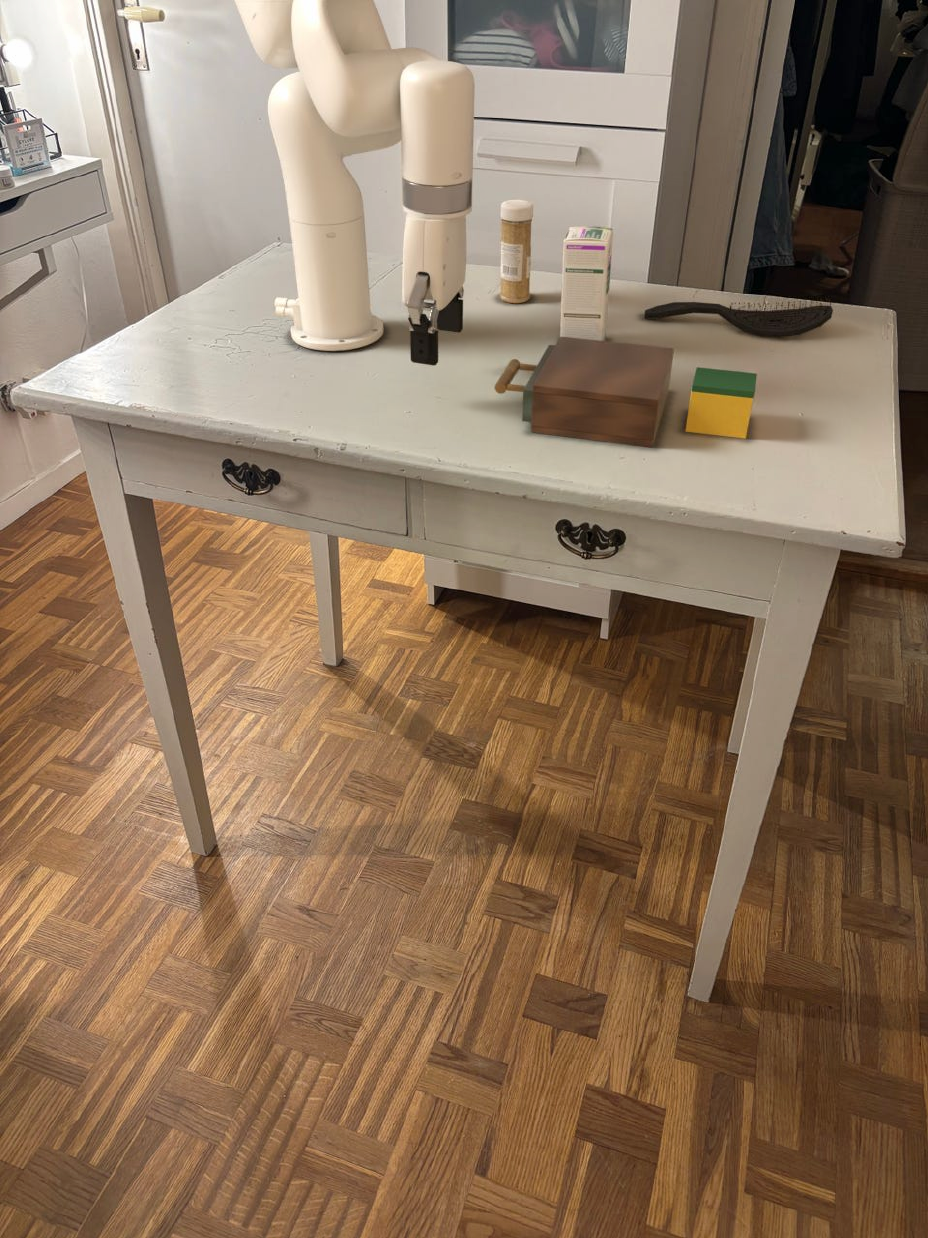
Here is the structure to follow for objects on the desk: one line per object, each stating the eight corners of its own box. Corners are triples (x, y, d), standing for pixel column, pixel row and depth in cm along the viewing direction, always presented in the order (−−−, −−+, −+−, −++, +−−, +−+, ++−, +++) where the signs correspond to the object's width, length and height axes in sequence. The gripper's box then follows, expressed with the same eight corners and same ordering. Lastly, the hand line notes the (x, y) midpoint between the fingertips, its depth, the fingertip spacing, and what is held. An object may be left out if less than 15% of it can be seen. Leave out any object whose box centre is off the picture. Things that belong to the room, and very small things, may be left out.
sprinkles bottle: (536, 298, 140) (540, 202, 131) (515, 306, 137) (517, 209, 129) (513, 291, 142) (516, 196, 134) (492, 298, 140) (493, 202, 131)
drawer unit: (530, 432, 106) (532, 385, 102) (557, 380, 117) (560, 336, 113) (652, 447, 103) (658, 399, 99) (668, 392, 114) (674, 347, 110)
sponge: (685, 431, 106) (692, 384, 102) (689, 412, 109) (696, 366, 106) (745, 438, 104) (754, 391, 101) (748, 419, 108) (757, 372, 104)
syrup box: (602, 355, 123) (612, 240, 114) (557, 352, 124) (563, 237, 115) (606, 338, 127) (615, 226, 118) (562, 335, 128) (568, 224, 119)
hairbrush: (648, 287, 135) (832, 291, 129) (646, 312, 137) (828, 317, 131) (642, 307, 128) (836, 313, 123) (641, 333, 131) (831, 340, 125)
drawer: (486, 416, 107) (487, 385, 105) (515, 370, 117) (516, 340, 115) (632, 435, 103) (636, 402, 101) (649, 385, 113) (653, 355, 111)
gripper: (429, 170, 109) (430, 315, 120) (376, 214, 96) (382, 372, 107) (492, 177, 107) (487, 323, 118) (446, 222, 94) (445, 381, 105)
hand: (437, 346), depth 112 cm, fingers open, 9 cm apart
